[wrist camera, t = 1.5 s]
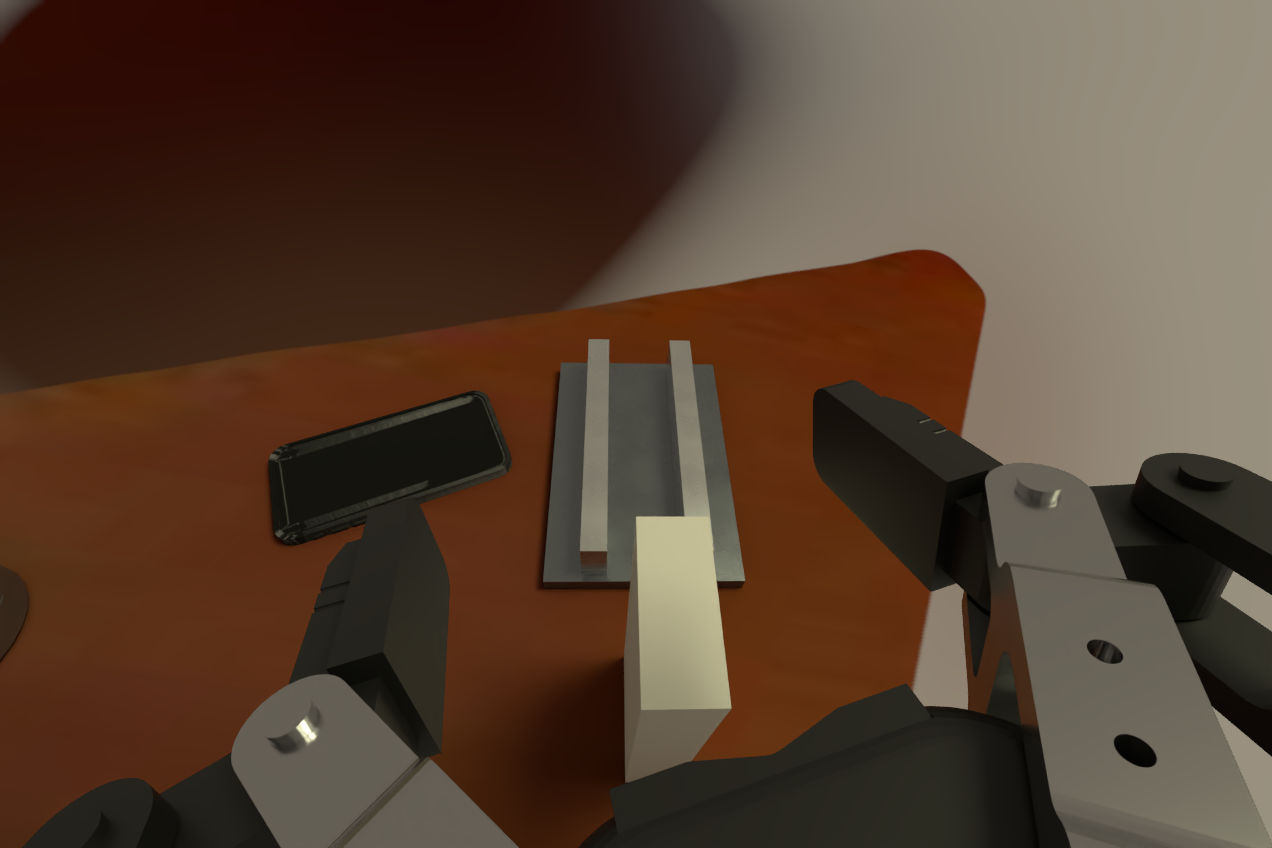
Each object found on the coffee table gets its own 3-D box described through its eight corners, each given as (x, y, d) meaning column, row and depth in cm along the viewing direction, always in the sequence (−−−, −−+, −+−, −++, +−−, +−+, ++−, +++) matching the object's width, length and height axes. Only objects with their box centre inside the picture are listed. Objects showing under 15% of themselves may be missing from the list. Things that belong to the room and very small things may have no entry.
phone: (267, 449, 39) (484, 386, 43) (275, 458, 39) (486, 396, 44) (275, 546, 34) (515, 466, 39) (283, 555, 35) (517, 475, 39)
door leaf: (625, 782, 28) (641, 709, 16) (624, 656, 32) (636, 516, 19) (679, 781, 28) (738, 708, 16) (671, 656, 32) (714, 516, 19)
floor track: (544, 588, 34) (538, 559, 31) (561, 371, 45) (558, 334, 42) (741, 587, 35) (755, 559, 31) (710, 373, 46) (718, 336, 43)
